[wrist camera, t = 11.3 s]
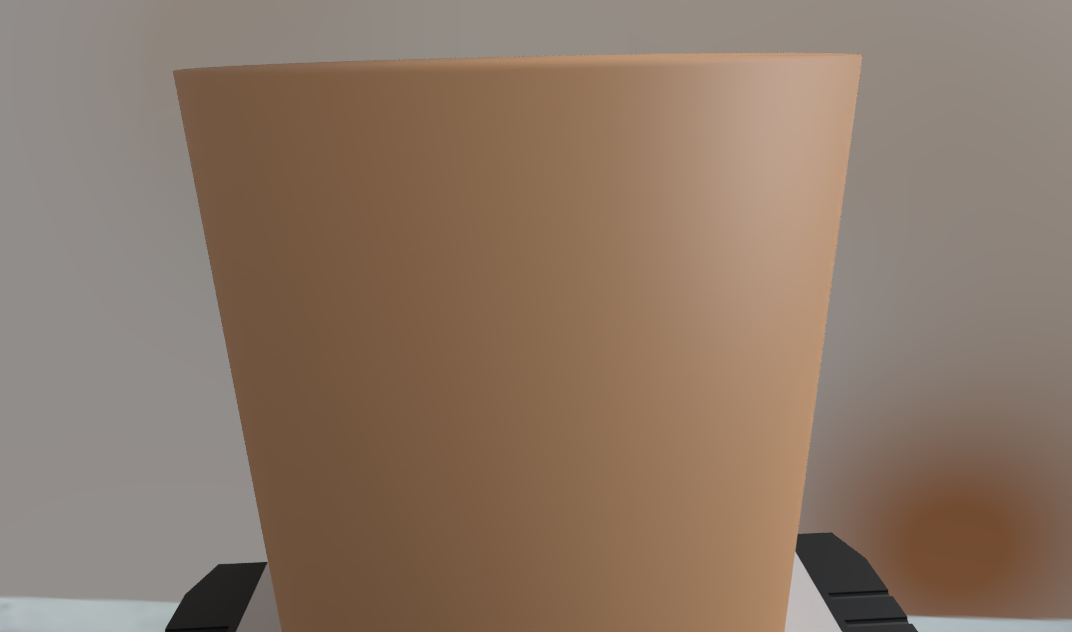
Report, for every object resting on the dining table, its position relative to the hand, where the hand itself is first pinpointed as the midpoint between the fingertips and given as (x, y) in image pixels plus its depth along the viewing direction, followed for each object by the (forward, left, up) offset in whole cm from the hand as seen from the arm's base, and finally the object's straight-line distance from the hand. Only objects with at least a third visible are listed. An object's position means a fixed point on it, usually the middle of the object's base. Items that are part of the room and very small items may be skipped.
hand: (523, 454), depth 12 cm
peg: (+2, +5, -9) cm, 11 cm away
